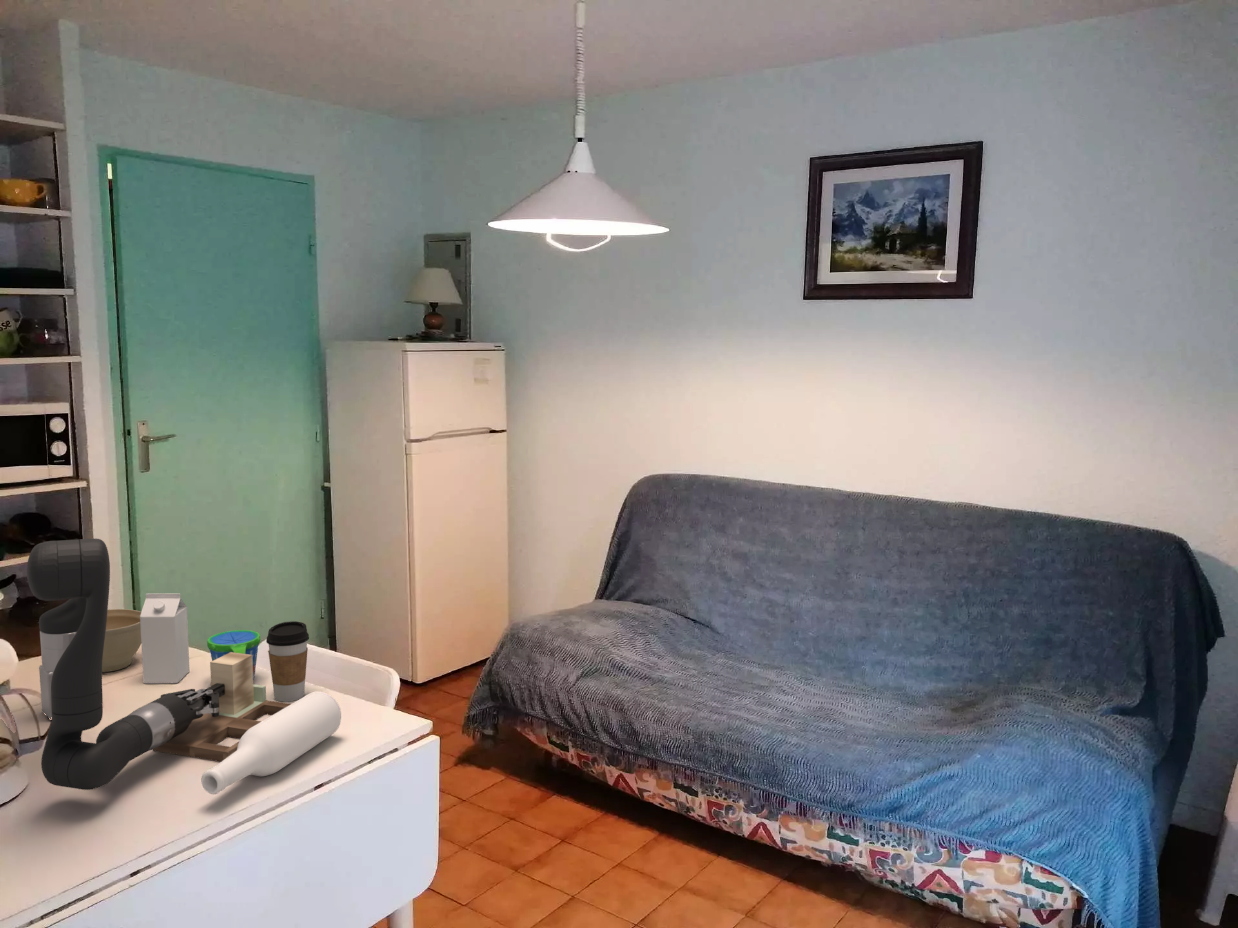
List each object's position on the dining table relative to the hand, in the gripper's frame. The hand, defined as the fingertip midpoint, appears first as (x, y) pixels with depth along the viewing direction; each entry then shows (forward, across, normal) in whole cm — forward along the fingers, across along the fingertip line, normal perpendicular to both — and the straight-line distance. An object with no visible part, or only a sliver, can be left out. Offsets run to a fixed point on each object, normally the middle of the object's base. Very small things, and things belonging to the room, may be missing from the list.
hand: (221, 688), depth 181 cm
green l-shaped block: (+4, 0, +7) cm, 8 cm away
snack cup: (+18, +11, +7) cm, 23 cm away
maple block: (+3, 0, +5) cm, 6 cm away
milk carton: (+16, +27, +7) cm, 32 cm away
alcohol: (+2, -21, +3) cm, 21 cm away
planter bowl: (+18, +44, +7) cm, 48 cm away
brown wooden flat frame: (-3, -4, +7) cm, 9 cm away
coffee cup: (+15, -4, +7) cm, 18 cm away
